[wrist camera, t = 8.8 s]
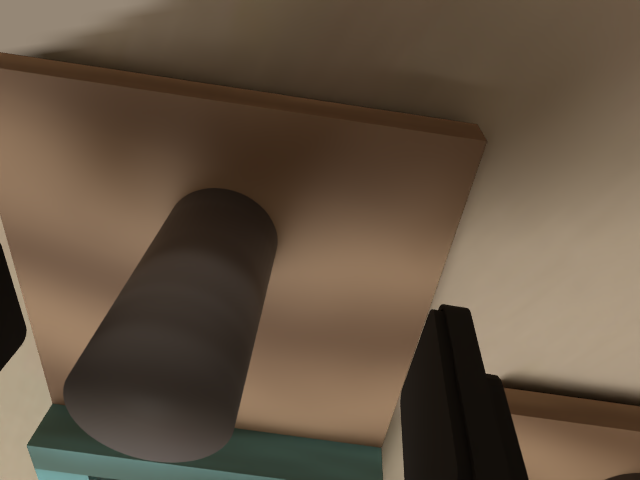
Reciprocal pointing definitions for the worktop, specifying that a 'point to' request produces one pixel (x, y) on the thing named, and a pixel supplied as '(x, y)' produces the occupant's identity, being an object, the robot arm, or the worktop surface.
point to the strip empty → (575, 437)
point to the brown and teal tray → (220, 269)
